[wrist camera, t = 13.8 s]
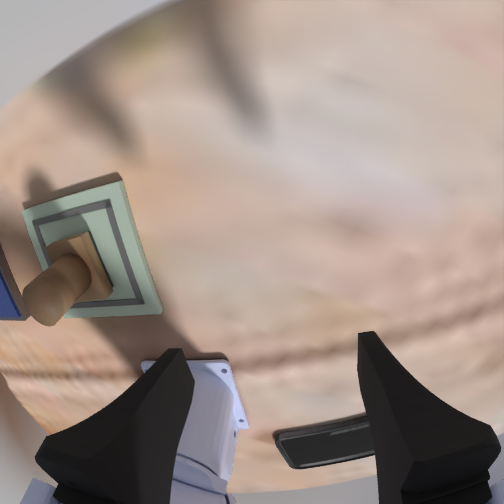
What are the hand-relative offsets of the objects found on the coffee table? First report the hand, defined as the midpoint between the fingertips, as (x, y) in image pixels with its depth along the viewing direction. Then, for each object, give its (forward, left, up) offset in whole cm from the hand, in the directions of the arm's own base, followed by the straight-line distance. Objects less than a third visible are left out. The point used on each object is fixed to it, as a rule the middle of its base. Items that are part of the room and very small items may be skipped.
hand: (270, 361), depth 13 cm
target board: (+2, +14, -9) cm, 17 cm away
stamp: (+2, +14, -9) cm, 17 cm away
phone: (-22, -5, -10) cm, 25 cm away
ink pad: (+1, +28, -9) cm, 30 cm away
